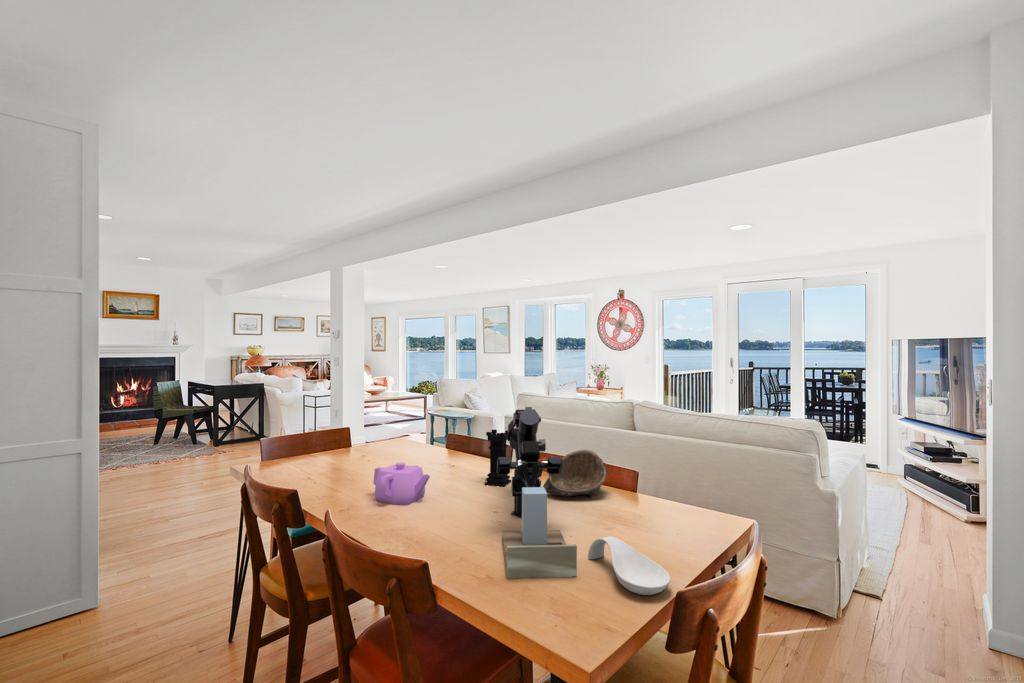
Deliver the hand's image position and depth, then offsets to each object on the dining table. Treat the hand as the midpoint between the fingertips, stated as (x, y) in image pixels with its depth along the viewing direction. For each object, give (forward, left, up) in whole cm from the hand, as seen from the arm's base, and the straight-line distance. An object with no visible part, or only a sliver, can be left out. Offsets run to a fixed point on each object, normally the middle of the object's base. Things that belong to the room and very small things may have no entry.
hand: (531, 492), depth 139 cm
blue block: (+5, -5, -10) cm, 13 cm away
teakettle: (-55, -3, -13) cm, 57 cm away
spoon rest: (+31, -4, -13) cm, 34 cm away
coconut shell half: (-11, +41, -13) cm, 44 cm away
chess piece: (-43, +33, -12) cm, 56 cm away
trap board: (+9, -9, -12) cm, 17 cm away
